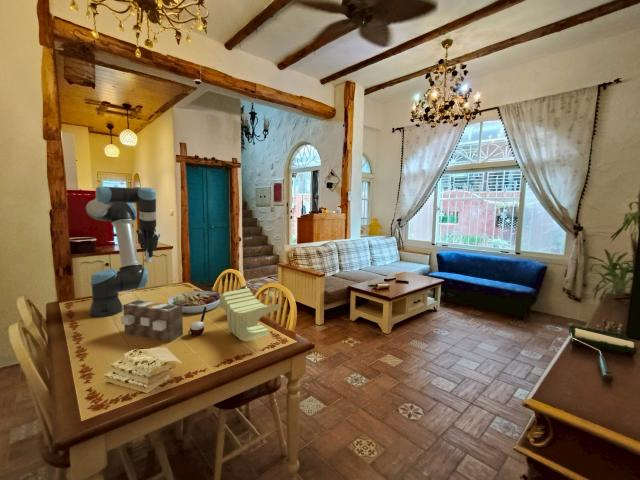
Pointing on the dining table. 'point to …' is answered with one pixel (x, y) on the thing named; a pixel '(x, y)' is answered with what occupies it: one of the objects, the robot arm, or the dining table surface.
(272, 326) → the dining table surface
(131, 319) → the button
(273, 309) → the slatted curved stool
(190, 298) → the bowl
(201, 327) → the cocoa
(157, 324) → the button
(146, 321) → the middle button
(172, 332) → the button panel
